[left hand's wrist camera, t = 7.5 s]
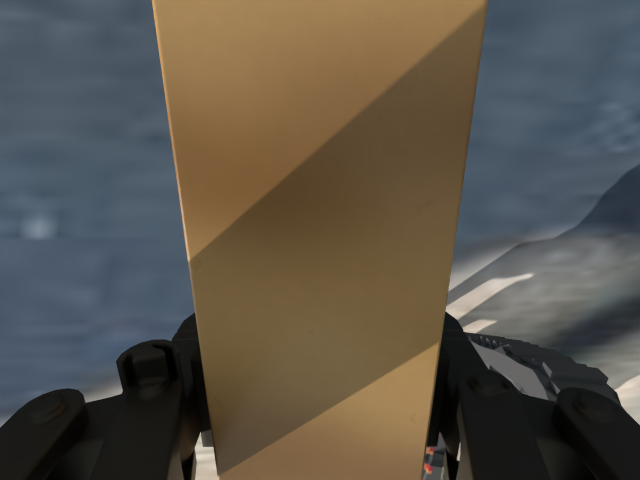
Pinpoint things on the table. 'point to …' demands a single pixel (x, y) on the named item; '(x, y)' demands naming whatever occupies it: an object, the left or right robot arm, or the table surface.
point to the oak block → (320, 220)
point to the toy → (526, 379)
